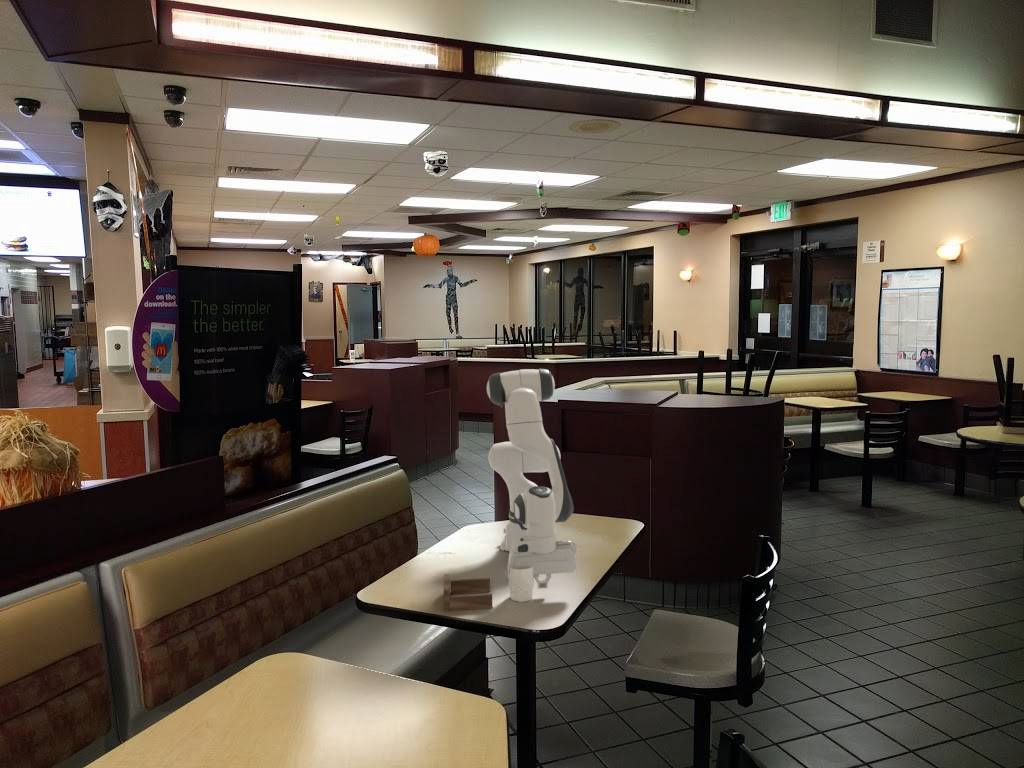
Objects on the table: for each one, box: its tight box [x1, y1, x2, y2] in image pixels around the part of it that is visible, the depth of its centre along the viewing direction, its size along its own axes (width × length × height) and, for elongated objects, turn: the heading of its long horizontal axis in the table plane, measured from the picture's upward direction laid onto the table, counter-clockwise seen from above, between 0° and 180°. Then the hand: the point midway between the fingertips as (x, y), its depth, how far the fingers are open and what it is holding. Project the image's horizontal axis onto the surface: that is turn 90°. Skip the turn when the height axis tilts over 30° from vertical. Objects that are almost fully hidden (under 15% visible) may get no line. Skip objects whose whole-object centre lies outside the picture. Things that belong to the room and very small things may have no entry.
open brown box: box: [443, 573, 494, 612], centre depth 199 cm, size 13×14×6 cm
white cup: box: [506, 564, 535, 603], centre depth 200 cm, size 8×8×10 cm
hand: (542, 587), depth 201 cm, fingers closed
